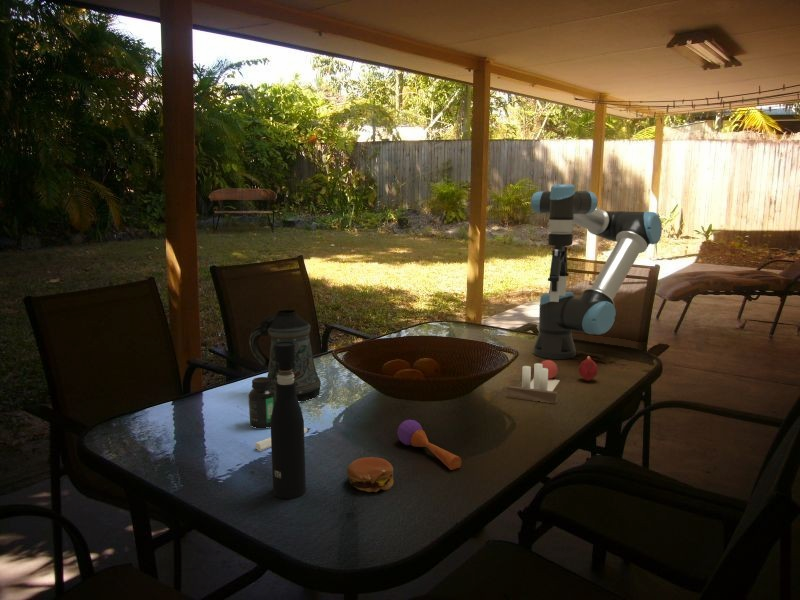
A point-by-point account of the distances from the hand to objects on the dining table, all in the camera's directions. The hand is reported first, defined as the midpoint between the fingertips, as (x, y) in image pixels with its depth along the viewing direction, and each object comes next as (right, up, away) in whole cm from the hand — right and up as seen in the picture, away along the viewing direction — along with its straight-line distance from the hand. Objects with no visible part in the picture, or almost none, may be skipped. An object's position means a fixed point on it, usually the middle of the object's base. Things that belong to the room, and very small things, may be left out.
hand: (557, 298), depth 199 cm
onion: (+8, -26, -7) cm, 28 cm away
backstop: (-14, -29, -25) cm, 41 cm away
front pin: (-11, -28, -18) cm, 35 cm away
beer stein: (-85, -29, -20) cm, 92 cm away
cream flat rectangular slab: (-7, -27, -11) cm, 30 cm away
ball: (-4, -23, -5) cm, 24 cm away
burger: (-57, -38, -75) cm, 102 cm away
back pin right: (-15, -28, -21) cm, 38 cm away
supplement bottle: (-87, -33, -43) cm, 102 cm away
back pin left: (-10, -29, -23) cm, 38 cm away
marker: (-79, -35, -53) cm, 101 cm away
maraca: (-45, -36, -61) cm, 84 cm away
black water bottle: (-74, -39, -79) cm, 114 cm away
